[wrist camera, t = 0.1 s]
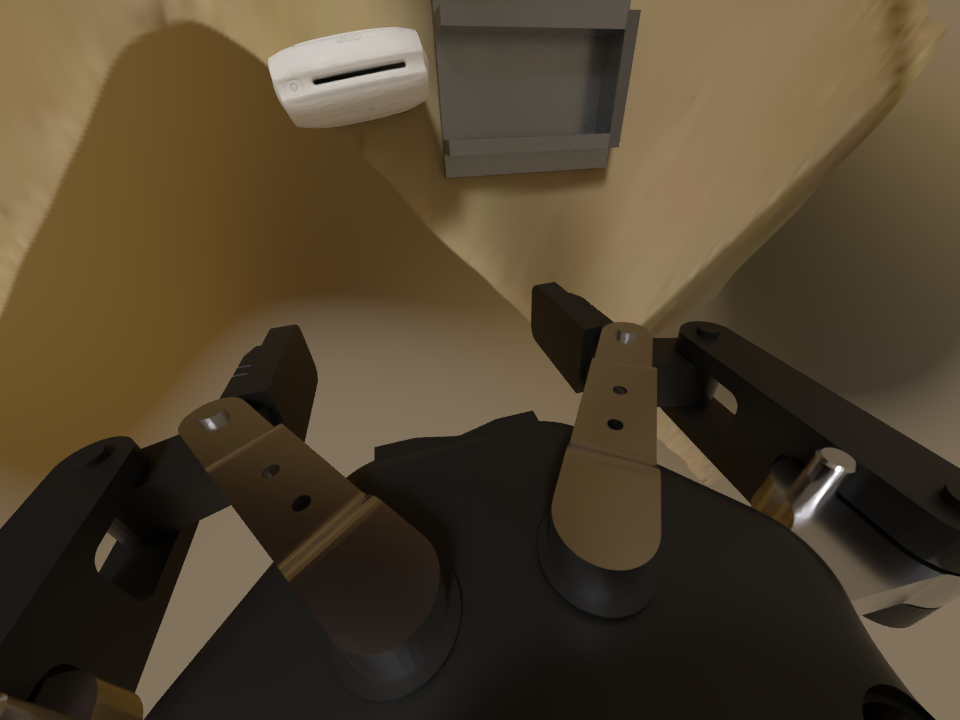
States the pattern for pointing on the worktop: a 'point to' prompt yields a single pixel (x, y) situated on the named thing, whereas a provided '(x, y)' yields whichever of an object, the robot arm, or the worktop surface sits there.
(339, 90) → the photo printer
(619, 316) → the worktop surface
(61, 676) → the robot arm
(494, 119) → the bracket
